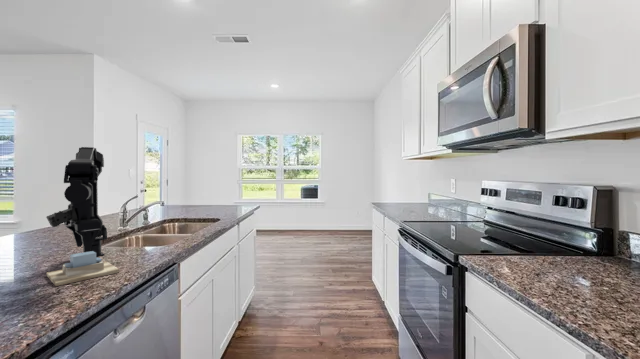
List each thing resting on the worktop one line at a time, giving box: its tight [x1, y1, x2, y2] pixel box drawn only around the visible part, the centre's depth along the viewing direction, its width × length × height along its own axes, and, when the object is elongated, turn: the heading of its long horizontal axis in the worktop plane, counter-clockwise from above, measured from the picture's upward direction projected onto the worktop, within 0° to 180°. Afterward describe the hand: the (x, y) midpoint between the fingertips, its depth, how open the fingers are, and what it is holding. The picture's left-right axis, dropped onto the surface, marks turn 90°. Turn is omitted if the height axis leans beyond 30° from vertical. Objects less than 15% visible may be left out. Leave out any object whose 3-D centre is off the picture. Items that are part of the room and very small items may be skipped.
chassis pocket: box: [46, 260, 120, 287], centre depth 98 cm, size 14×16×3 cm
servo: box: [63, 251, 103, 268], centre depth 98 cm, size 4×9×6 cm, turn 140°
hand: (83, 248), depth 98 cm, fingers open, 9 cm apart
